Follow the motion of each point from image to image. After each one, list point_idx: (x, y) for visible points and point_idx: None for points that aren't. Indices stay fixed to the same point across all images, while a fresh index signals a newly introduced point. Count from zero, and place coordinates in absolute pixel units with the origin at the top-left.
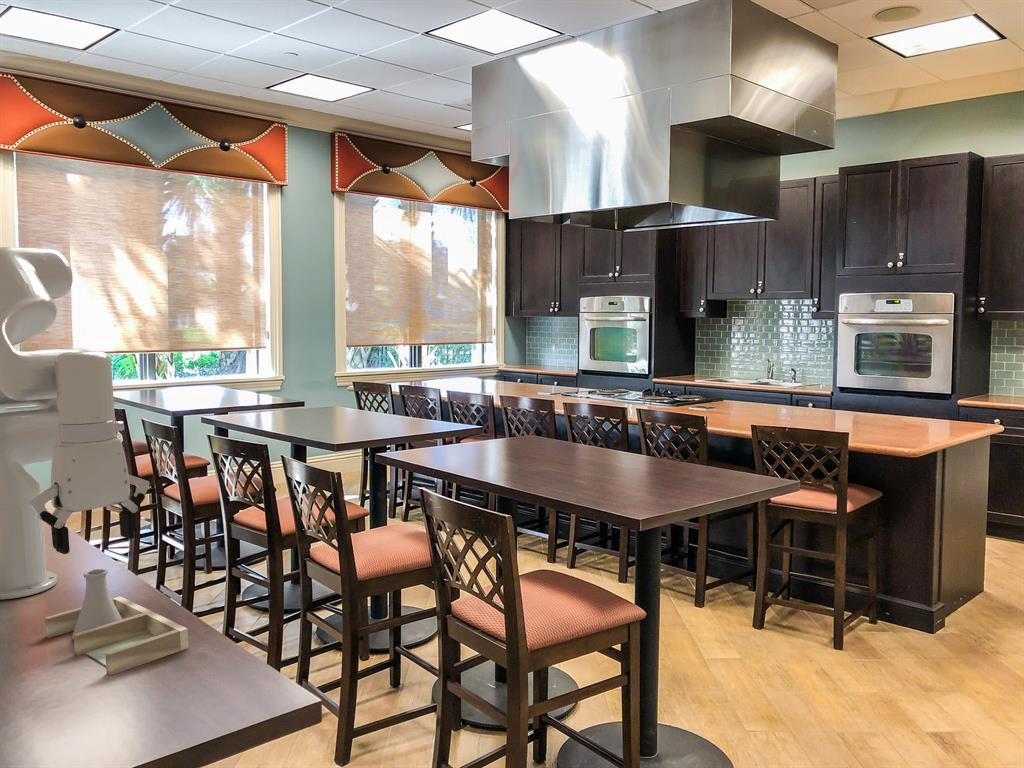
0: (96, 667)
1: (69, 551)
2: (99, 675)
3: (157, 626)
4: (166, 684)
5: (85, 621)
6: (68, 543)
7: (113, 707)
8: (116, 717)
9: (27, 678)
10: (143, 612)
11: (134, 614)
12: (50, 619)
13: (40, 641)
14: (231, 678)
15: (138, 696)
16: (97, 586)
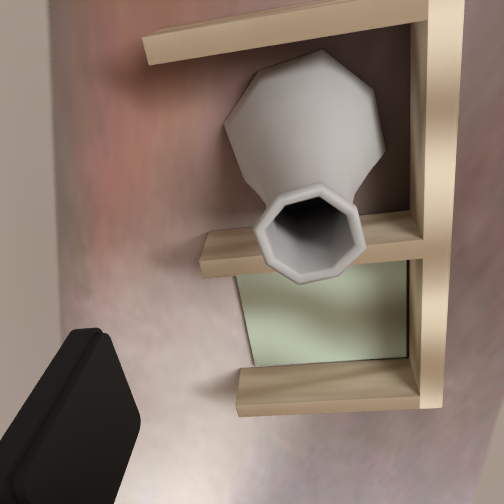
0: (232, 329)
1: (139, 426)
2: (227, 365)
3: (417, 303)
4: (312, 459)
5: (253, 187)
6: (121, 472)
7: (214, 469)
8: (209, 491)
9: (95, 287)
10: (427, 235)
11: (419, 173)
12: (160, 61)
13: (141, 63)
14: (404, 500)
15: (258, 464)
16: (299, 245)
